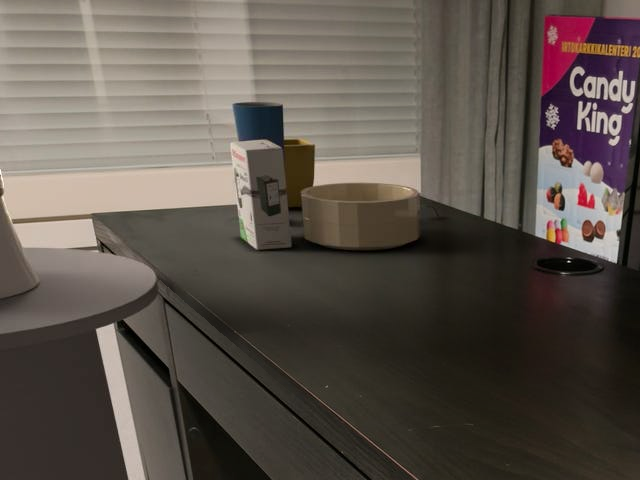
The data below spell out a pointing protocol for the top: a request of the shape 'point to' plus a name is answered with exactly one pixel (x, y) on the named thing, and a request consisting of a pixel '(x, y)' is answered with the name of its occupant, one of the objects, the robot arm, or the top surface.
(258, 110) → the cup
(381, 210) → the bowl
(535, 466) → the top surface
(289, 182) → the flower pot
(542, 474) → the top surface
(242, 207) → the ink box
